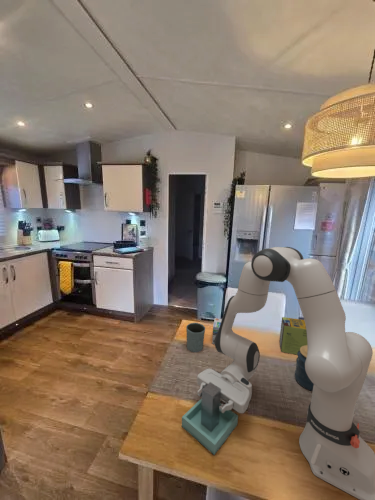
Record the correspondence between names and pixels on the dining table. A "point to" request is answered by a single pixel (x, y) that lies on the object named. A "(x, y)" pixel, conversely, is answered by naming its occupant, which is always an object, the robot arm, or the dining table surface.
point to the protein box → (292, 335)
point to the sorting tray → (202, 434)
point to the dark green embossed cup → (195, 336)
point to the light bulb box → (216, 328)
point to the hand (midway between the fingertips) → (209, 402)
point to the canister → (302, 369)
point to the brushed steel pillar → (210, 406)
